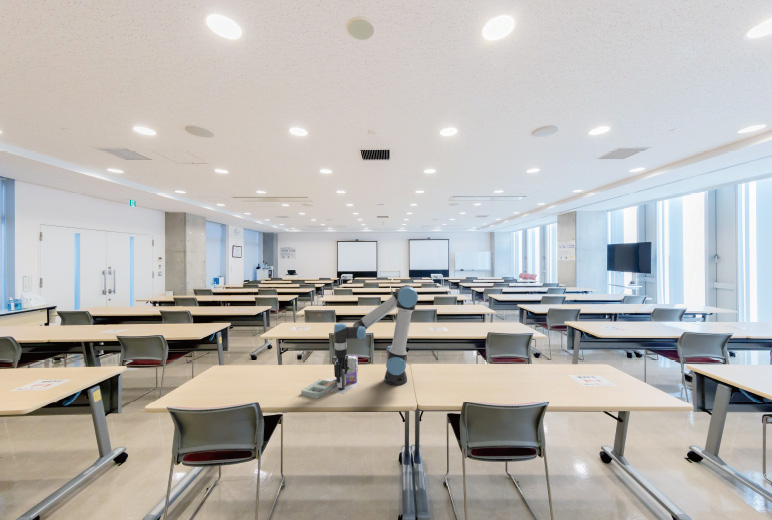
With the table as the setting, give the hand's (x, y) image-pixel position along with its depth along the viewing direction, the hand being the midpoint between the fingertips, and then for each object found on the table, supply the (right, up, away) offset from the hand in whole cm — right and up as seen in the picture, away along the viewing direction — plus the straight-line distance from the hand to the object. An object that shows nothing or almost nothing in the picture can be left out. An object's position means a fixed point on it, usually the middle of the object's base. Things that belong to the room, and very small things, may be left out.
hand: (341, 385), depth 197 cm
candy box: (+2, -2, +13) cm, 13 cm away
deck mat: (0, -3, 0) cm, 3 cm away
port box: (-14, -3, -1) cm, 14 cm away
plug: (0, -2, 0) cm, 2 cm away
